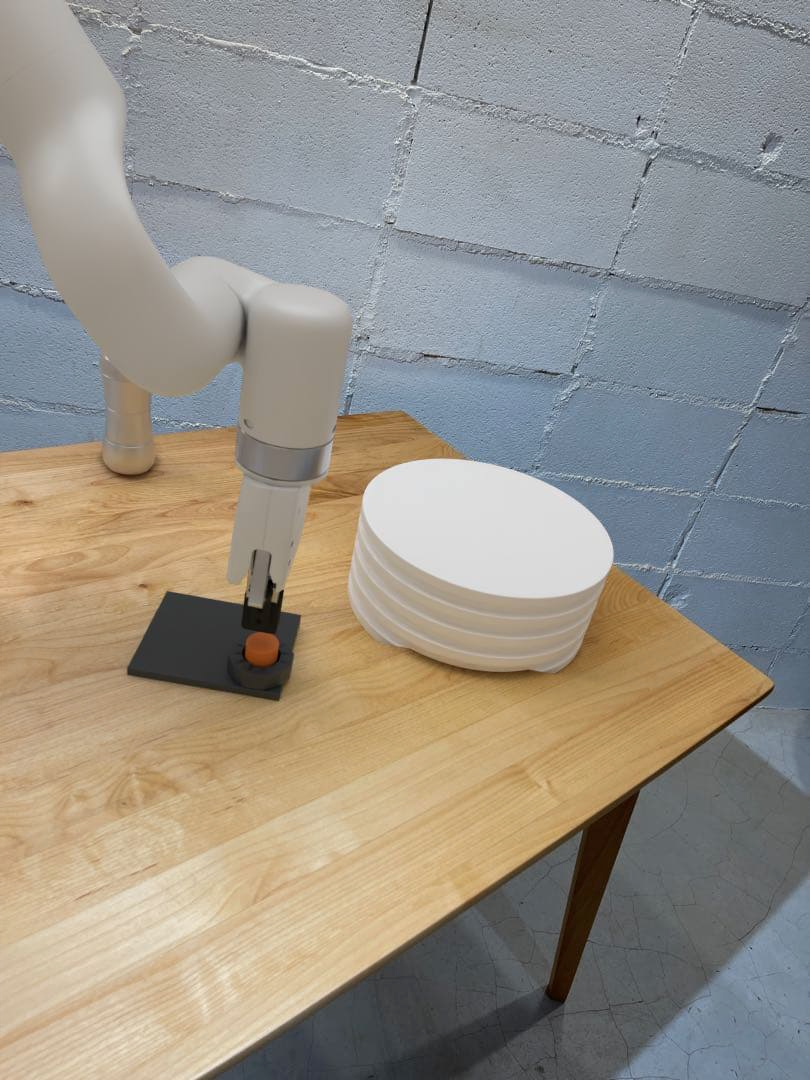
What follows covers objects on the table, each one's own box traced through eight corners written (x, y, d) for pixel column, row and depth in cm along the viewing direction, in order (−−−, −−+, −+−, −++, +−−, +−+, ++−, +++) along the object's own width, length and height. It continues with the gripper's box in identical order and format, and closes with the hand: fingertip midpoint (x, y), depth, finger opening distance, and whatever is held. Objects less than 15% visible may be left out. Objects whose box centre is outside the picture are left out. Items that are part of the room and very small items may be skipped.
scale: (126, 685, 75) (126, 652, 73) (166, 607, 85) (167, 576, 83) (282, 712, 76) (287, 680, 73) (303, 631, 86) (307, 601, 84)
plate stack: (622, 616, 99) (655, 537, 93) (497, 727, 79) (528, 636, 73) (442, 513, 112) (461, 439, 106) (296, 586, 92) (308, 500, 86)
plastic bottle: (142, 485, 104) (144, 334, 93) (92, 473, 104) (88, 321, 94) (163, 464, 109) (167, 319, 99) (115, 452, 110) (113, 306, 99)
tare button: (241, 664, 75) (243, 649, 74) (248, 643, 77) (250, 629, 76) (274, 670, 75) (275, 655, 74) (280, 649, 77) (281, 634, 76)
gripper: (256, 401, 70) (237, 572, 80) (212, 482, 58) (196, 673, 68) (342, 419, 71) (313, 586, 81) (317, 503, 58) (286, 690, 68)
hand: (260, 625), depth 74 cm, fingers closed
